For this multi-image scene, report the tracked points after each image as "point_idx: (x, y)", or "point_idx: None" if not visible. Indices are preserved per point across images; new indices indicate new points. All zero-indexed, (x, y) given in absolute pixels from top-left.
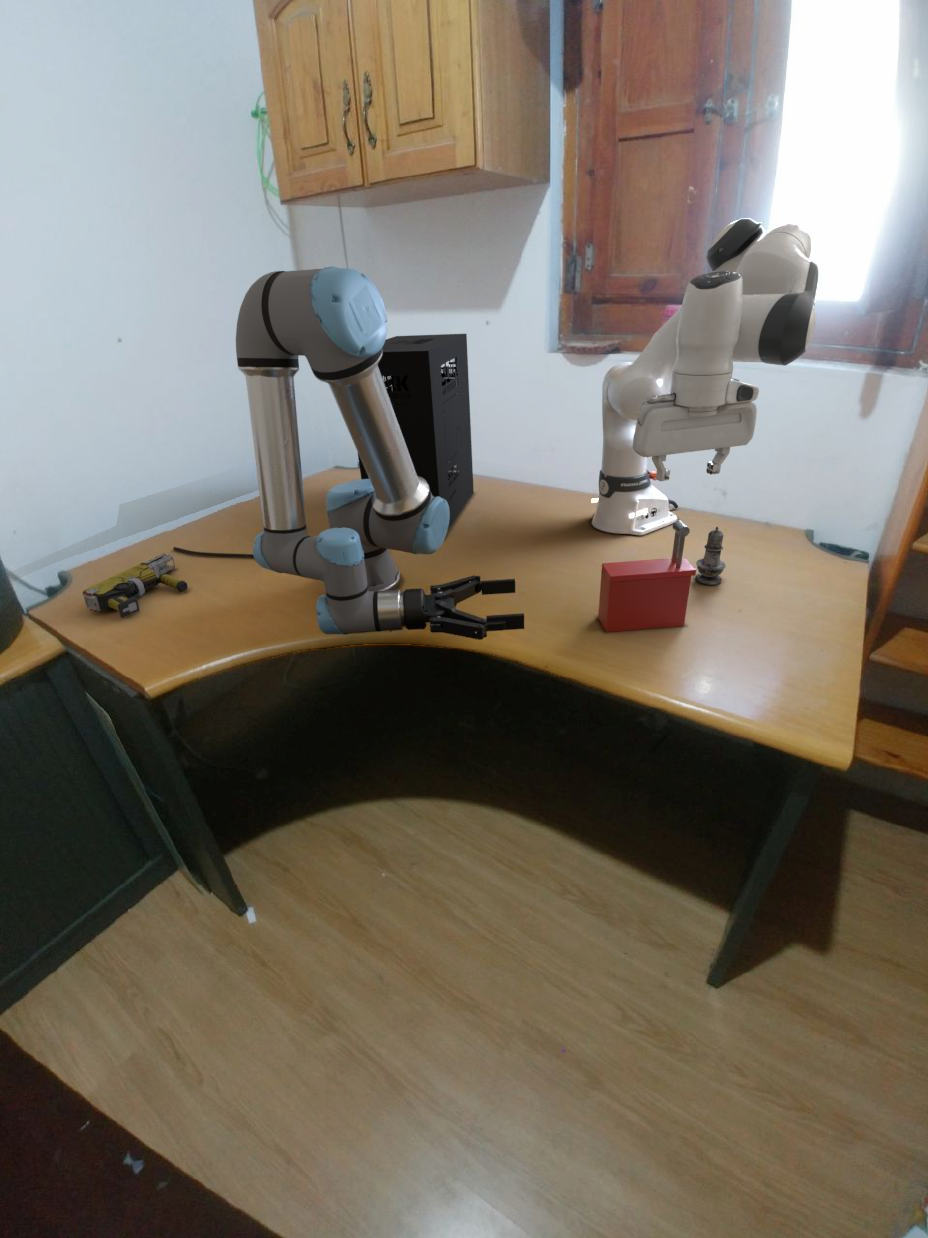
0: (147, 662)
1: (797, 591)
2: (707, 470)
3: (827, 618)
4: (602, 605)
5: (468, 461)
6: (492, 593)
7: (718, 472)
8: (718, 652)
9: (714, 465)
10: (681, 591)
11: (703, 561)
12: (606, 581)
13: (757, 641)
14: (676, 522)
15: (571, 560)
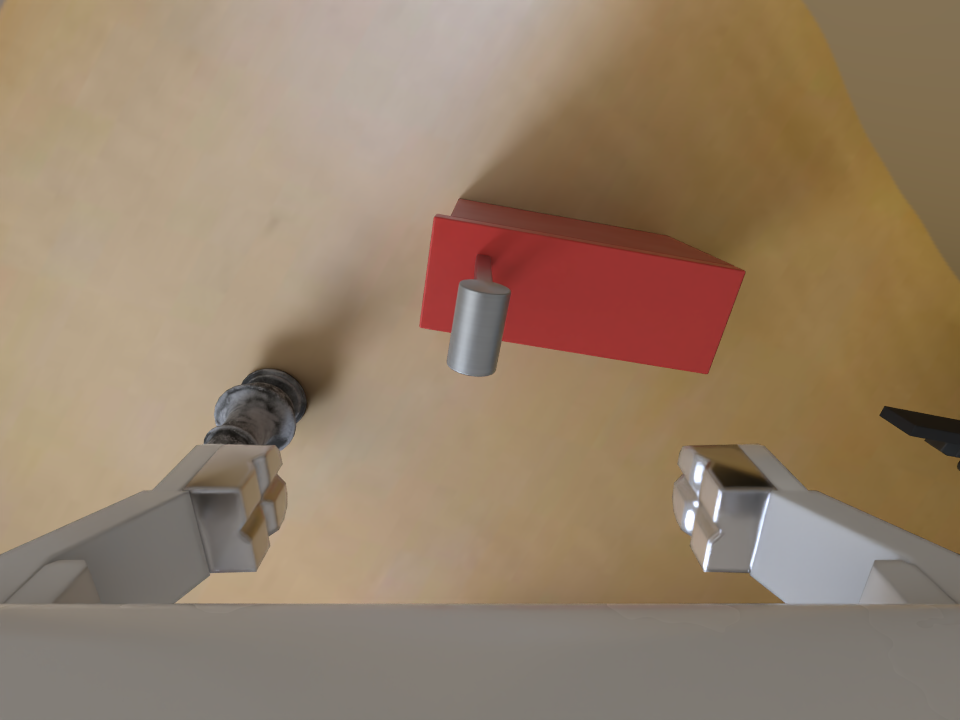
0: None
1: (64, 269)
2: (280, 508)
3: (48, 102)
4: None
5: None
6: (946, 418)
7: (209, 445)
8: (443, 31)
9: (231, 484)
10: (479, 214)
11: (275, 428)
12: None
13: (307, 50)
14: (487, 362)
15: (553, 581)
